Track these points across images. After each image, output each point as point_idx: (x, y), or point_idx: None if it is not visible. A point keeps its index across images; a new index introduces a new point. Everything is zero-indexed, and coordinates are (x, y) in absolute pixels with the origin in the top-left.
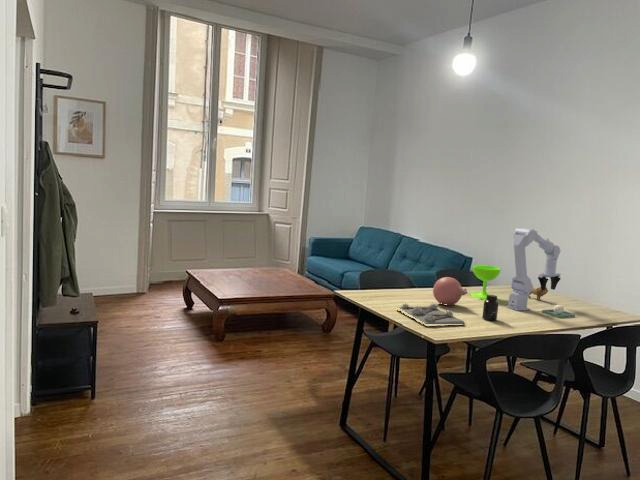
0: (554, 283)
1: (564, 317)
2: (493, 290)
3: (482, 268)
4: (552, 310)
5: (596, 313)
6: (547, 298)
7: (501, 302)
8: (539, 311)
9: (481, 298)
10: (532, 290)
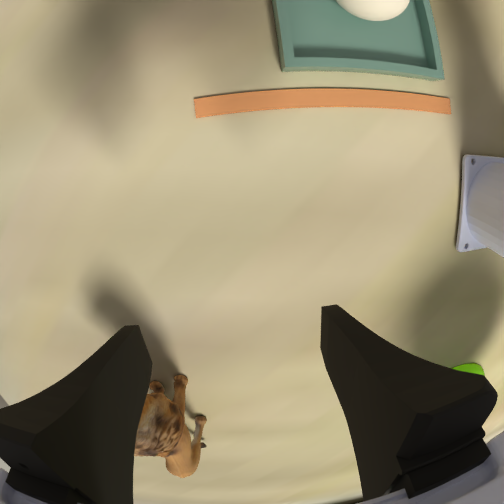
0: (109, 397)
1: None
2: (280, 490)
3: None
4: (349, 60)
5: (5, 44)
6: None
7: (458, 334)
8: (435, 102)
9: (483, 374)
10: (190, 452)
